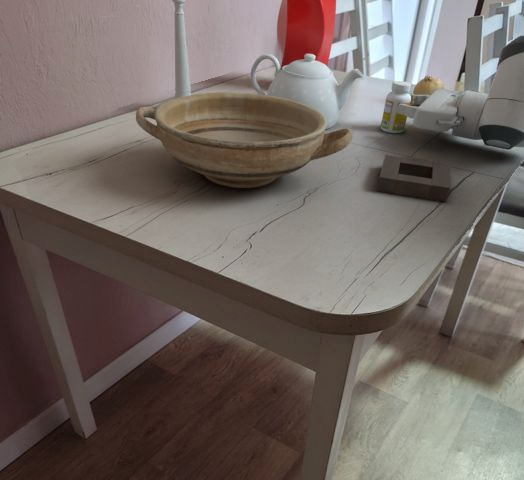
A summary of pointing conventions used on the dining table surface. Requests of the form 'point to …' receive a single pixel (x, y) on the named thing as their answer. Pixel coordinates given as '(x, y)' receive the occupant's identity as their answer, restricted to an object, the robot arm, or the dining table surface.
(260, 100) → the ceramic bowl
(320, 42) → the vase
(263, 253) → the dining table surface
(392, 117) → the supplement bottle
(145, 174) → the dining table surface
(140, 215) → the dining table surface
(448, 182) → the socket
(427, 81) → the onion
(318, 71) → the teapot
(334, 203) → the dining table surface
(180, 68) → the candlestick
